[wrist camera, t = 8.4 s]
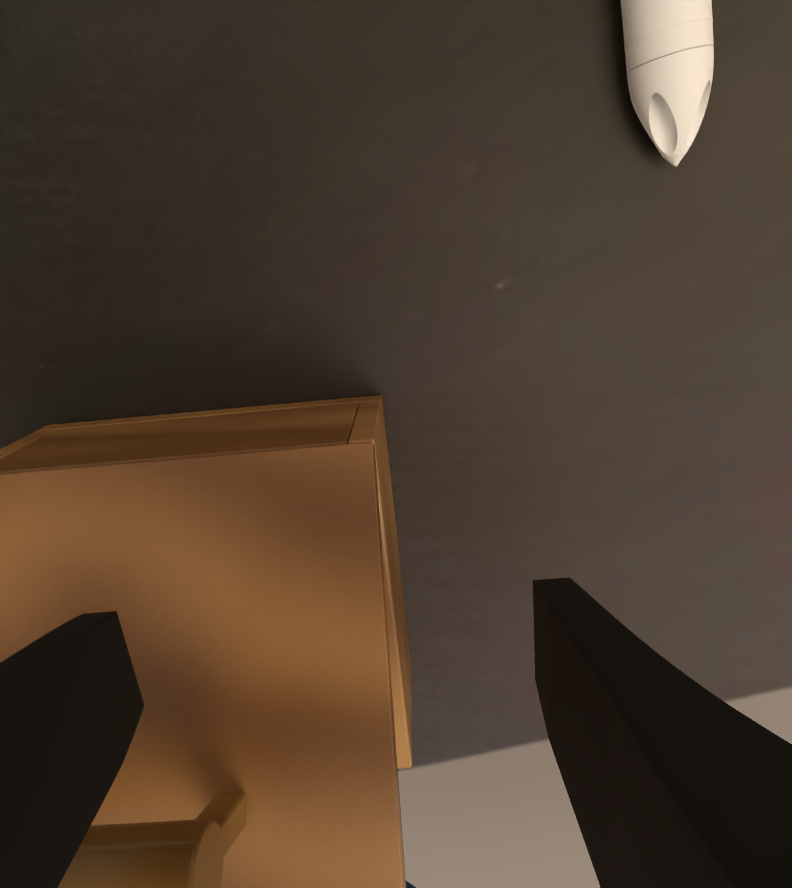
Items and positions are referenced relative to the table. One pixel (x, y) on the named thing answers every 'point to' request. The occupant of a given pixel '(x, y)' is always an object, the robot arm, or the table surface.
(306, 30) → the table surface
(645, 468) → the table surface
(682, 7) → the marker
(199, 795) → the brown piece
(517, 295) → the table surface
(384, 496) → the keepsake box
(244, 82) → the table surface
